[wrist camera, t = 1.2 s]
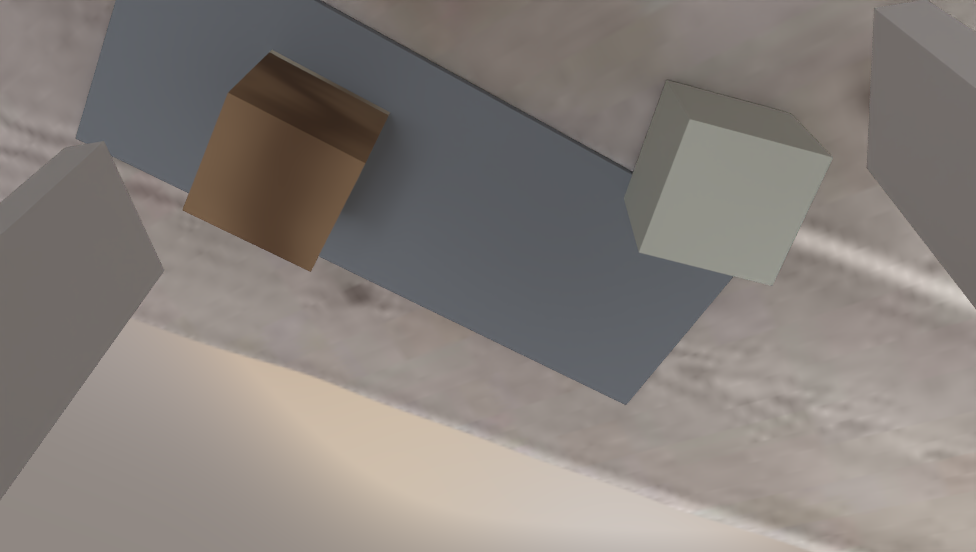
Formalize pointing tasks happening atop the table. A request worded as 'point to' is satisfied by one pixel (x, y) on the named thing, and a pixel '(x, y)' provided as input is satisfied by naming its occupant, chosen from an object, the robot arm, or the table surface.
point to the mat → (419, 183)
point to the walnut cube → (284, 159)
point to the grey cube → (723, 183)
